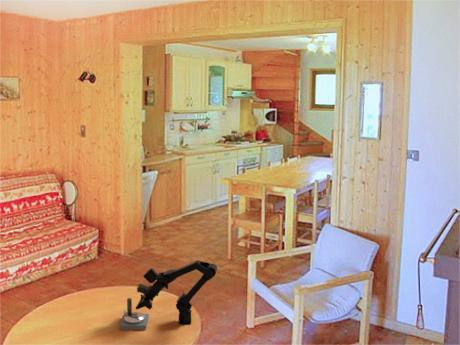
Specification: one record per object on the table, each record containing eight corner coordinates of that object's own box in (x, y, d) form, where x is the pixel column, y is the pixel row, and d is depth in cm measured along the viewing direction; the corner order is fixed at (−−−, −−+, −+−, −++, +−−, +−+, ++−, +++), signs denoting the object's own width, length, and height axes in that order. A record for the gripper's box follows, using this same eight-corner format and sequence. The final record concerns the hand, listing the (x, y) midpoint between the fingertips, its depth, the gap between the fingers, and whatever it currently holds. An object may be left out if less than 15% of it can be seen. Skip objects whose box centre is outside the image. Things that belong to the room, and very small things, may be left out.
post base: (148, 317, 283) (148, 307, 282) (145, 329, 269) (145, 318, 268) (123, 317, 282) (123, 307, 281) (119, 329, 268) (119, 318, 267)
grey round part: (133, 311, 284) (133, 294, 282) (148, 318, 276) (148, 301, 274) (117, 318, 276) (117, 300, 274) (132, 325, 268) (132, 307, 266)
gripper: (144, 273, 285) (125, 293, 285) (145, 286, 267) (125, 307, 267) (159, 285, 288) (140, 304, 288) (160, 299, 270) (140, 319, 270)
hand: (136, 308), depth 278 cm, fingers closed
